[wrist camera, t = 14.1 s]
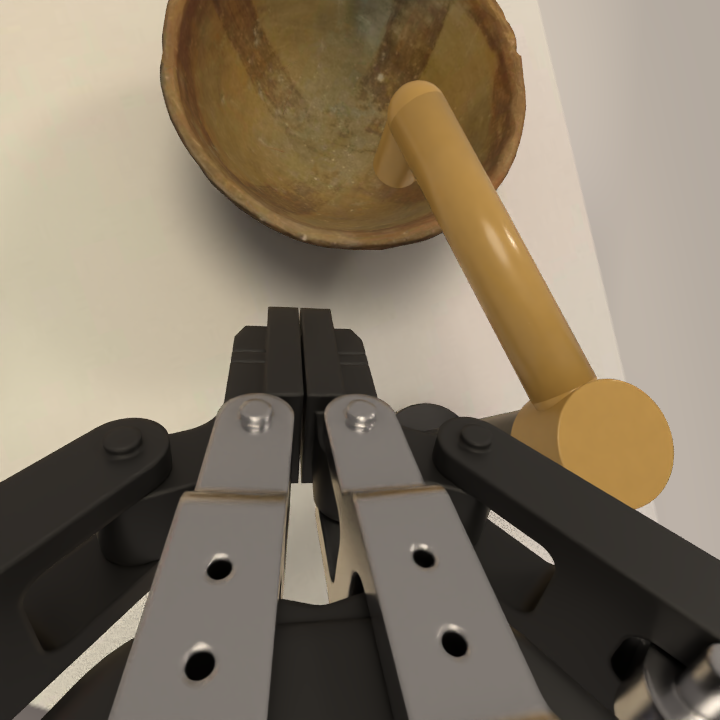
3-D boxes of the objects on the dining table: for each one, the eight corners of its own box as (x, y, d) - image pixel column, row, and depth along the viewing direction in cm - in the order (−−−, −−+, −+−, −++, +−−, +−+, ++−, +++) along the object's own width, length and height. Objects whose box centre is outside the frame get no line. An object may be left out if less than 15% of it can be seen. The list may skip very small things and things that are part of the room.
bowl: (517, 150, 41) (594, 53, 31) (366, 361, 34) (402, 321, 25) (308, -6, 40) (320, -154, 31) (116, 178, 34) (55, 65, 24)
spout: (603, 471, 19) (697, 473, 15) (523, 519, 18) (599, 535, 14) (424, 132, 21) (462, 49, 17) (342, 159, 20) (361, 77, 16)
